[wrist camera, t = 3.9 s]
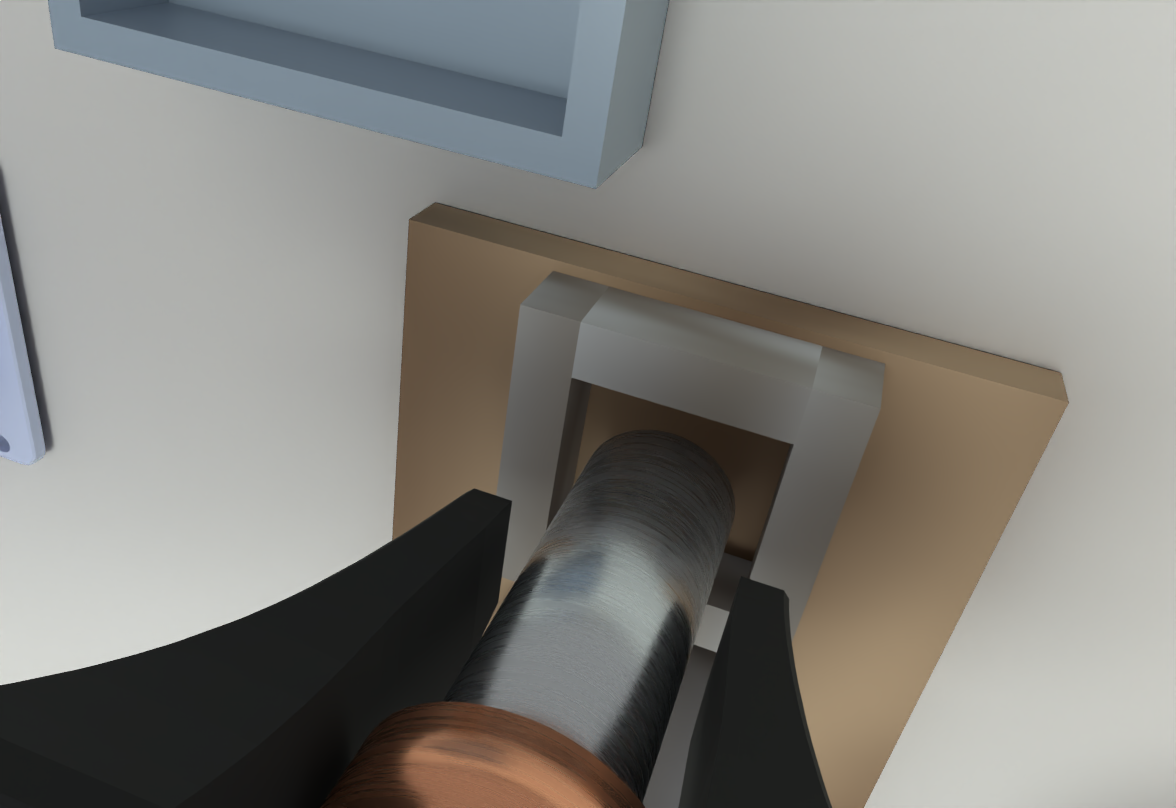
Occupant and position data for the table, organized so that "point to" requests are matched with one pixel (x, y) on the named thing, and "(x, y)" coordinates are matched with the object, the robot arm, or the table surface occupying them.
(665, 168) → the table surface
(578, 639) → the lock pin
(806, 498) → the pulley board
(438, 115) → the tray
